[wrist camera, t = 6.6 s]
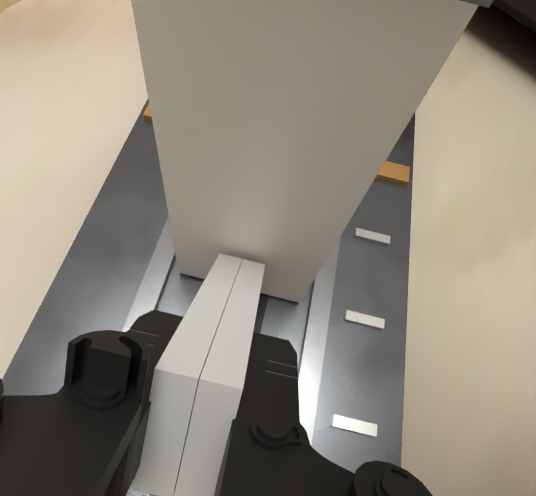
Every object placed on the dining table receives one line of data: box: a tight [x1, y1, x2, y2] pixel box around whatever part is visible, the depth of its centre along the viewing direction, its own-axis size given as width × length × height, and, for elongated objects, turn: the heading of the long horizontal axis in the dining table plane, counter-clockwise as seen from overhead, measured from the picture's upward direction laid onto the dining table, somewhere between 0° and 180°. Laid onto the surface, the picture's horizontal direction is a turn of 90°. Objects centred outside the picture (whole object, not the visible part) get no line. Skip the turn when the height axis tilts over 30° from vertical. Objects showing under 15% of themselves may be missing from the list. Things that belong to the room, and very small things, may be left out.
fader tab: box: [131, 0, 493, 303], centre depth 11 cm, size 3×5×13 cm, turn 78°
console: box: [2, 99, 415, 496], centre depth 18 cm, size 24×14×3 cm, turn 168°
